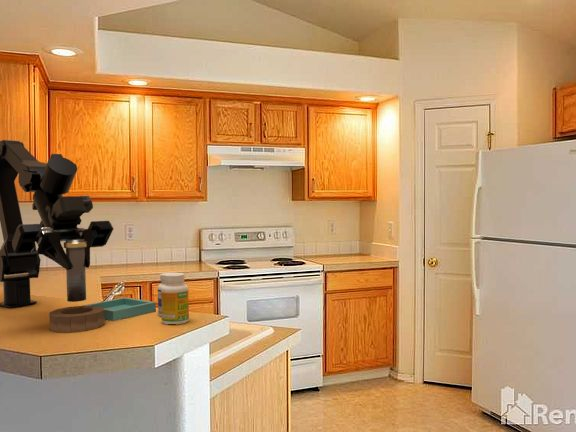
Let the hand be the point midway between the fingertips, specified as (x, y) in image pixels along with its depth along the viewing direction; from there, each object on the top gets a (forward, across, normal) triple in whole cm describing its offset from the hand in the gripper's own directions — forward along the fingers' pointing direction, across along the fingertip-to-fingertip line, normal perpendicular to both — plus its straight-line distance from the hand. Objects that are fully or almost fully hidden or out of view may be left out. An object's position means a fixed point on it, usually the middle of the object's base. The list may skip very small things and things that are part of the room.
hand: (78, 267), depth 103 cm
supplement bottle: (+16, +15, +1) cm, 22 cm away
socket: (+7, 0, +9) cm, 12 cm away
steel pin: (+4, 0, +6) cm, 7 cm away
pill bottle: (+12, +18, +5) cm, 22 cm away
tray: (+4, +12, +12) cm, 17 cm away
